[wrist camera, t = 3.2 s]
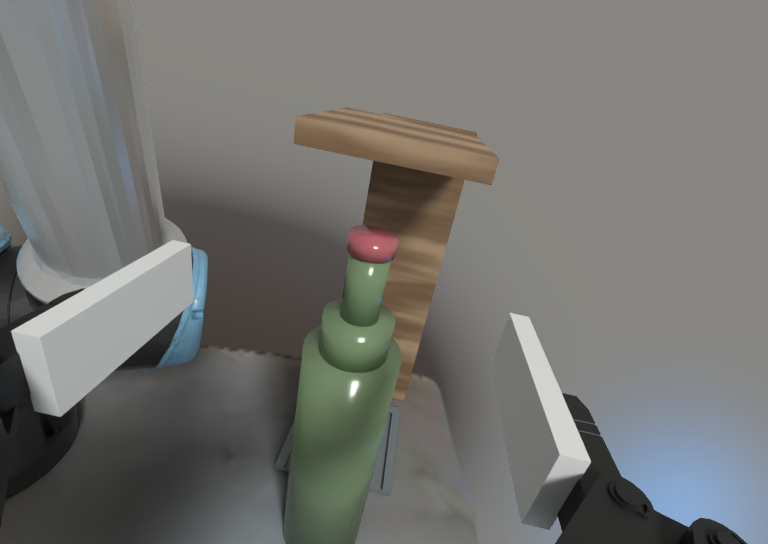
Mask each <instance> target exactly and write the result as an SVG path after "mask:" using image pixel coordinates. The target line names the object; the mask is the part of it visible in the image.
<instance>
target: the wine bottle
mask: <svg viewBox="0 0 768 544" xmlns="http://www.w3.org/2000/svg"><path fill="white" fill-rule="evenodd" d="M398 241H399V238H398V236H397V235H396V234H394V233H393V232H391V231H389V230H386V229H384V228H380V227H375V226H367V225H362V226H355V227H352V228H351V229H350V231H349V238H348V244H347V251H348V252H349V258H348V265H347V271H346V277H345V283H344V290H343V297H340V298H336V299H333V300H331V301H330V302H328V303H327V304H326V305H325V307H324V309H323V315H322V322H321V325H319V326H318V327H316V328H314V329H313V330H312V331H310V332H309V334H308V335H307V336H306V338H305V340H304V343H303V350H302V359H301V368H300V377H299V387H298V396H297V405H296V414H295V423H294V432H293V441H292V450H291V459H290V469H289V478H288V487H287V496H286V505H285V514H284V523H283V534H284V539H285V543H286V544H354V543H355V540H356V538H357V534H358V530H359V526H360V522H361V518H362V514H363V510H364V506H365V502H366V499H367V495H368V491H369V487H370V483H371V479H372V475H373V471H374V467H375V463H376V460H377V456H378V452H379V448H380V444H381V440H382V436H383V432H384V428H385V424H386V421H387V417H388V413H389V409H390V405H391V401H392V397H393V393H394V389H395V385H396V382H397V378H398V374H399V370H400V366H401V362H402V353H401V349H400V347H399V345H398V343H397V342H396V341H395V340H394V339H393V338H392V335H393V331H394V327H395V317H394V315H393V313H392V312H391V311H390V310H389V309H388V308H387V307H386V306H384V305H383V304H382V302H383V297H384V292H385V287H386V283H387V278H388V273H389V268H390V264H391V261H392V260H393V259H394V258H395V255H396V250H397V245H398Z"/></svg>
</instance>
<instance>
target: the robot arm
mask: <svg viewBox="0 0 768 544" xmlns="http://www.w3.org/2000/svg"><path fill="white" fill-rule="evenodd" d="M0 183H1V185H2V187H3V189H4V191H5V193H6V195H7V197H8V199H9V201H10V203H11V205H12V207H13V209H14V211H15V213H16V215H17V217H18V219H19V221H20V223H21V225H22V227H23V229H24V231H25V233H26V235H27V237H28V239H27V241H26V242H25V243H24V245H13V244H11V240H12V238H11V235H10V234H9V233H7V231H6V230H5V228H4V227H3V226H2V225H0V525H1V520H2V514H3V508H4V502H5V500H6V499H8V498H10V497H11V496H13V495H15V494H17V493H18V492H20V491H22V490H23V489H25V488H26V487H28V486H29V485H31V484H32V483H34V482H35V481H37V480H38V479H39V478H41V477H42V476H43V475H44V474H46V473H47V472H48V471H49V470H50V469H51V468H52V467H53V466H54V465H56V463H57V462H58V461H59V460H60V459H61V458H62V457H63V456H64V455H65V453H66V452H67V451H68V449H69V448H70V446H71V445H72V443H73V441H74V439H75V437H76V434H77V431H78V425H79V419H78V414H77V410H76V406H75V404H76V403H77V402H78V401H80V400H81V399H82V398H83V397H84V396H85V395H87V394H88V393H89V392H90V391H91V390H92V389H93V388H95V387H96V386H97V385H98V384H99V383H100V382H102V381H103V380H104V379H105V378H106V377H107V376H108V375H110V374H111V373H112V372H113V371H118V370H130V369H145V368H148V369H150V370H156V369H159V368H161V367H165V366H173V365H180V364H185V363H187V362H189V361H191V360H192V359H193V358H194V357H195V356H196V355H197V353H198V350H199V347H200V341H201V335H202V328H203V319H204V318H203V316H204V315H203V312H204V307H205V301H206V290H207V275H208V257H207V254H206V253H205V252H204V251H203V250H199V249H195V248H194V247H191V244H189V243H187V241H186V238H185V236H184V235H183V233H182V232H181V230H180V229H179V228H178V227H177V226H175V225H174V224H173V223H172V222H171V221H169V220H167V219H166V218H164V211H163V205H162V198H161V191H160V184H159V178H158V171H157V164H156V158H155V151H154V144H153V139H152V131H151V125H150V117H149V111H148V105H147V98H146V91H145V84H144V78H143V71H142V64H141V57H140V51H139V44H138V37H137V30H136V24H135V18H134V10H133V4H132V0H0ZM489 369H490V373H491V378H492V383H493V388H494V393H495V398H496V402H497V407H498V412H499V417H500V421H501V427H502V431H503V436H504V441H505V446H506V451H507V455H508V460H509V465H510V470H511V475H512V479H513V484H514V489H515V494H516V499H517V504H518V508H519V513H520V518H521V523H522V524H527V525H531V526H535V527H539V528H544V529H548V530H549V529H550V528H551V526H552V525H553V523H554V522H555V520H556V518H557V517H558V518H559V522H560V525H561V529H562V534H561V536H560V537H559V539H558V540H557V542H556V543H555V544H747V543H746V542H745V541H744V540H742V539H741V538H740V537H739V536H738V535H737V534H736V533H734V532H733V531H731V530H730V529H728V528H727V527H725V526H724V525H722V524H720V523H718V522H715V521H713V520H710V519H704V518H699V519H698V520H696V521H694V522H693V523H692V524H691V526H690V527H687V526H684V525H683V524H681V523H679V522H677V521H675V520H672V519H670V518H668V517H666V516H664V515H662V514H660V513H658V512H656V511H655V510H654V509H653V506H652V504H651V502H650V501H649V499H648V498H647V497H646V495H645V494H644V493H643V492H642V491H641V490H640V489H639V488H637V487H636V486H635V485H634V484H633V483H631V482H630V481H628V480H626V479H625V478H623V477H621V475H620V473H619V471H618V469H617V467H616V465H615V463H614V461H613V459H612V457H611V454H610V452H609V450H608V448H607V446H606V444H605V442H604V440H603V438H602V437H600V432H599V430H598V428H597V426H595V422H594V420H593V418H592V416H591V414H590V412H589V410H588V409H587V408H586V406H585V405H584V404H583V403H582V402H581V401H580V400H579V399H578V398H577V397H576V396H572V395H568V394H563V393H561V390H560V388H559V386H558V384H557V381H556V379H555V377H554V374H553V372H552V370H551V367H550V365H549V363H548V360H547V358H546V356H545V353H544V351H543V349H542V347H541V344H540V342H539V339H538V337H537V335H536V332H535V330H534V328H533V326H532V323H531V321H530V319H529V317H526V316H521V315H516V314H513V313H510V314H509V316H508V319H507V322H506V324H505V327H504V329H503V332H502V335H501V337H500V340H499V343H498V345H497V348H496V350H495V353H494V355H493V358H492V361H491V363H490V366H489Z"/></svg>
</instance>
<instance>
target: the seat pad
mask: <svg viewBox="0 0 768 544" xmlns="http://www.w3.org/2000/svg"><path fill="white" fill-rule="evenodd" d="M399 415H400V408H397V407H393V406H390V409H389V413H388V417H387V421H386V424H385V428H384V432H383V436H382V440H381V444H380V448H379V452H378V456H377V460H376V463H375V467H374V471H373V475H372V479H371V483H370V487H369V491H371V492H376V493H380V494H384V495H388V496H390V494H391V491H392V483H393V473H394V463H395V454H396V444H397V435H398V425H399ZM294 423H295V419H294V421H293V424H292V426H291V428H290V431H289V433H288V435H287V438H286V440H285V443H284V445H283V447H282V450H281V452H280V454H279V457H278V459H277V461H276V466H275V469H276V470H281V471H285V472H289V469H290V459H291V450H292V441H293V432H294Z"/></svg>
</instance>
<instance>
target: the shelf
mask: <svg viewBox="0 0 768 544" xmlns="http://www.w3.org/2000/svg"><path fill="white" fill-rule="evenodd" d="M294 144H297V145H302V146H307V147H311V148H316V149H321V150H326V151H330V152H335V153H340V154H345V155H349V156H354V157H359V158H364V159H369V160H373V166H372V172H371V178H370V184H369V190H368V196H367V202H366V208H365V214H364V220H363V225H367V226H375V227H380V228H384V229H386V230H389V231H391V232H393V233H394V234H396V235H397V236H398V238H399V241H398V245H397V250H396V255H395V258H394V259H393V260H392V261H391V264H390V268H389V273H388V278H387V283H386V287H385V292H384V297H383V302H382V304H383V305H384V306H386V307H387V308H388V309H389V310H390V311H391V312H392V313H393V315H394V317H395V327H394V331H393V335H392V338H393V339H394V340H395V341H396V342H397V343H398V345H399V347H400V349H401V353H402V362H401V366H400V370H399V374H398V378H397V382H396V385H395V389H394V393H393V397H392V399H396V400H401V401H404V398H405V394H406V391H407V387H408V383H409V380H410V376H411V372H412V368H413V365H414V362H415V358H416V354H417V351H418V347H419V343H420V340H421V336H422V332H423V328H424V325H425V322H426V318H427V314H428V311H429V307H430V303H431V299H432V296H433V292H434V289H435V285H436V281H437V278H438V274H439V271H440V267H441V263H442V260H443V256H444V252H445V249H446V245H447V241H448V237H449V234H450V231H451V227H452V223H453V220H454V216H455V212H456V209H457V205H458V202H459V198H460V194H461V191H462V187H463V183H464V180H469V181H474V182H478V183H483V184H488V185H492V181H493V178H494V175H495V172H496V169H497V165H498V162H499V158H498V157H497V156H496V155H495V154H494V153H493V152H492V151H491V150H490V149H489V148H488V147H487V146H486V145H485V144H484V143H483V142H482V141H481V140H480V139H479V138H478V137H477V133H476V132H472V131H468V130H463V129H458V128H453V127H448V126H443V125H439V124H434V123H429V122H424V121H419V120H414V119H410V118H405V117H400V116H395V115H390V114H385V113H383V114H381V115H380V114H375V113H371V112H365V111H361V110H356V109H351V108H341V109H336V110H330V111H325V112H319V113H313V114H307V115H302V116H296V120H295V133H294Z"/></svg>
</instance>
